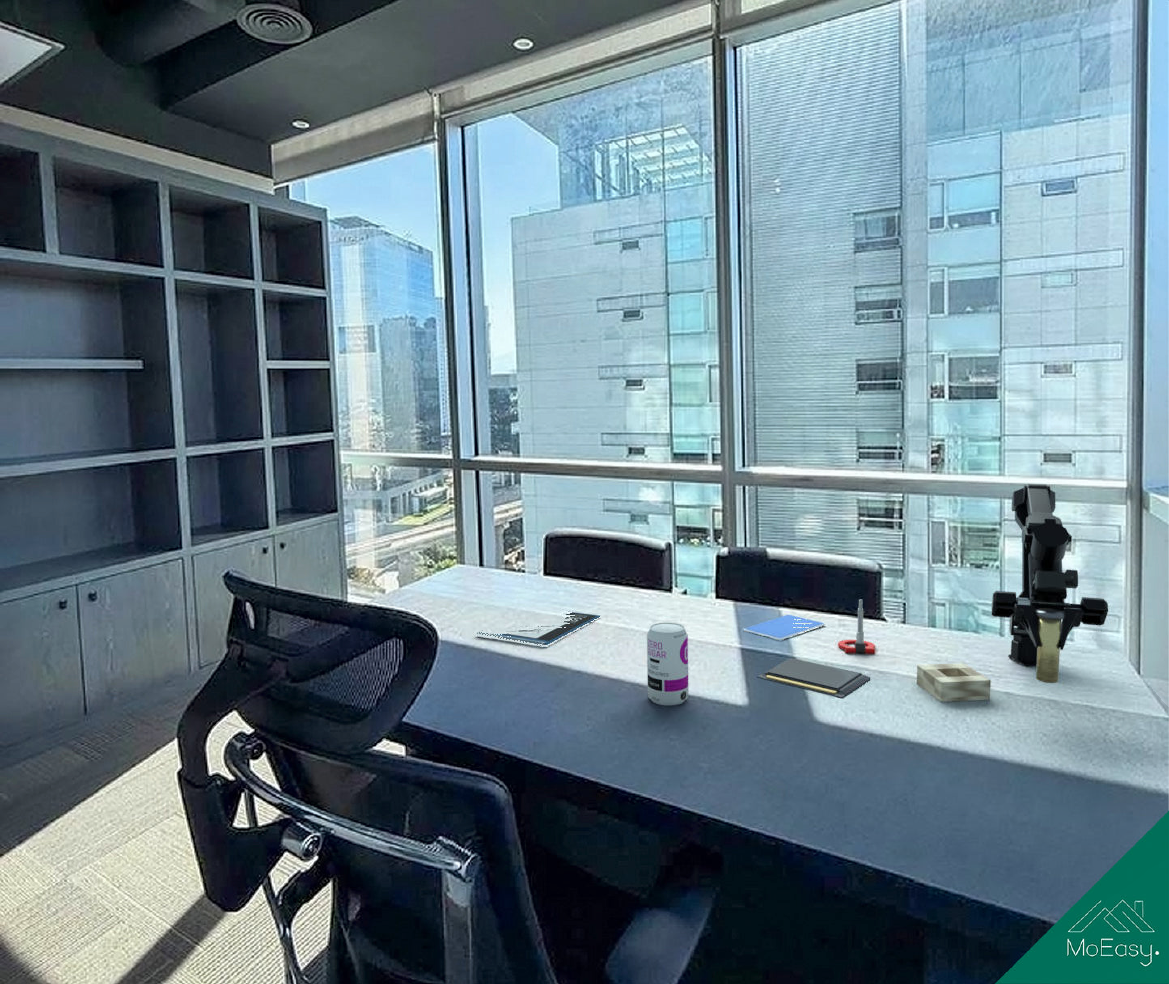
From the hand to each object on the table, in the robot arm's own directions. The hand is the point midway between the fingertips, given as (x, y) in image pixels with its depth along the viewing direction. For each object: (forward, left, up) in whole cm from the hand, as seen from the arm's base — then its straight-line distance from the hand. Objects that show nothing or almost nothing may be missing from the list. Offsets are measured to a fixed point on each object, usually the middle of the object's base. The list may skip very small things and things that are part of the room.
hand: (1049, 647), depth 145 cm
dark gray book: (+35, -26, -14) cm, 46 cm away
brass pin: (-1, -1, -7) cm, 7 cm away
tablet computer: (+30, -62, -14) cm, 70 cm away
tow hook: (+18, -44, -14) cm, 49 cm away
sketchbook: (+94, -71, -14) cm, 119 cm away
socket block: (+10, -14, -13) cm, 22 cm away
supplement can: (+68, -17, -14) cm, 72 cm away
